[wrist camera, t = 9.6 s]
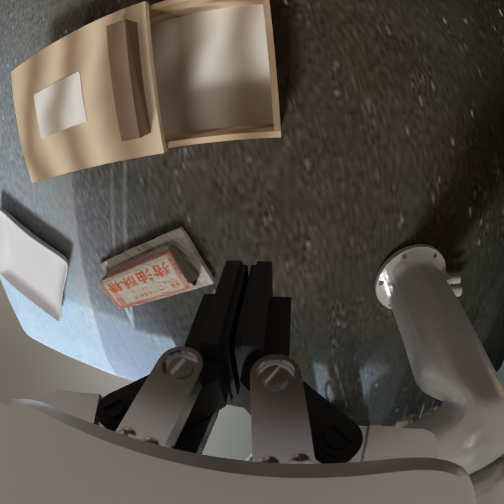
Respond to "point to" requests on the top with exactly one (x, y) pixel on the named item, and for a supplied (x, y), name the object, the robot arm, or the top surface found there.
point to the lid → (90, 97)
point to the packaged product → (155, 270)
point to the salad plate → (32, 265)
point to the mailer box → (215, 70)
